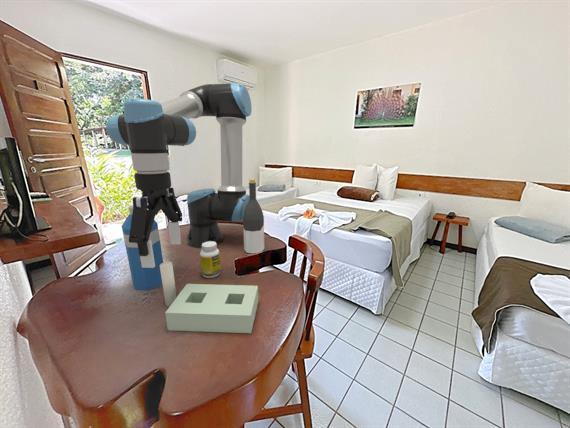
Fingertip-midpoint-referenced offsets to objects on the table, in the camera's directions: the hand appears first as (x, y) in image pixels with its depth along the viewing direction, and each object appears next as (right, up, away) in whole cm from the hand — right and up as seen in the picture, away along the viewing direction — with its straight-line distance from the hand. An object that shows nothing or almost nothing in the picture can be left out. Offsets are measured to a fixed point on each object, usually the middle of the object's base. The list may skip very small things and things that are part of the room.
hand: (163, 254), depth 63 cm
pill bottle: (+7, -10, +20) cm, 23 cm away
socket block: (+14, -16, 0) cm, 21 cm away
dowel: (0, -14, +5) cm, 15 cm away
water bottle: (-12, -11, +15) cm, 22 cm away
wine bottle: (+19, -5, +36) cm, 41 cm away
